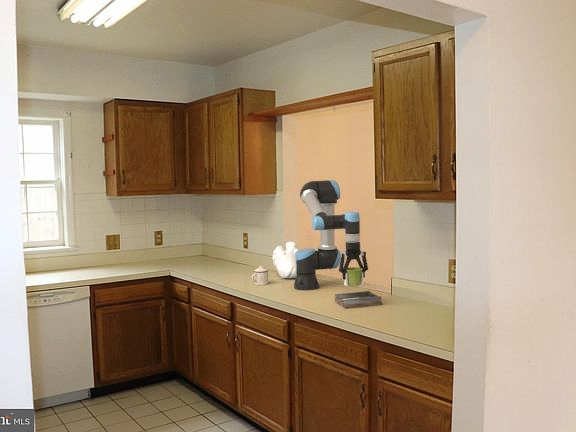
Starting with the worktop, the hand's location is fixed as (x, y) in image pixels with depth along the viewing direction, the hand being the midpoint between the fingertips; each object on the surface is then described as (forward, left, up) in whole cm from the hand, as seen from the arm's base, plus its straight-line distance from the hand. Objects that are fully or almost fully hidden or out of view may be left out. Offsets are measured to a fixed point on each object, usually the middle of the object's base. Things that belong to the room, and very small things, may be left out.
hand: (353, 284), depth 282 cm
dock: (0, +2, -10) cm, 10 cm away
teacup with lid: (-72, -34, -11) cm, 80 cm away
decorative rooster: (-87, -11, -11) cm, 88 cm away
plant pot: (0, 0, 0) cm, 0 cm away
